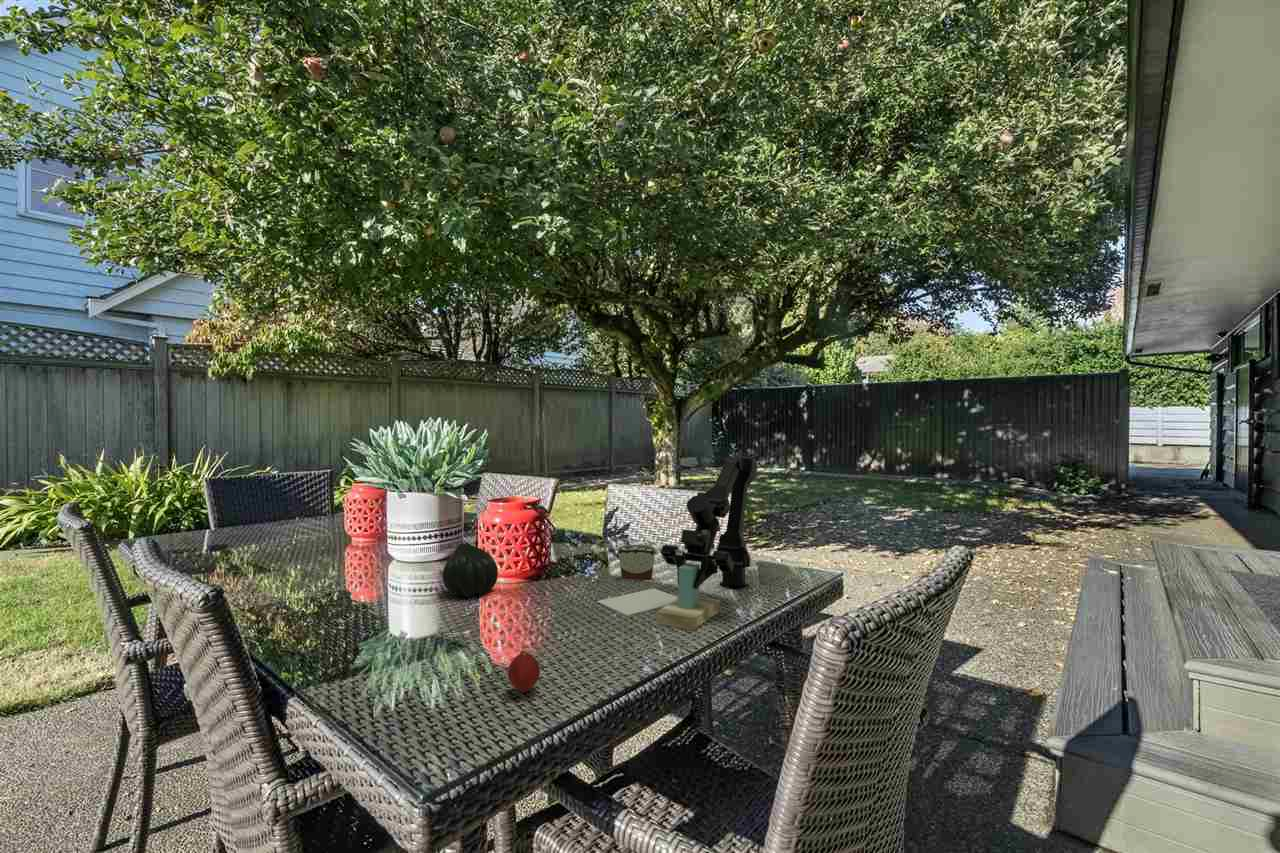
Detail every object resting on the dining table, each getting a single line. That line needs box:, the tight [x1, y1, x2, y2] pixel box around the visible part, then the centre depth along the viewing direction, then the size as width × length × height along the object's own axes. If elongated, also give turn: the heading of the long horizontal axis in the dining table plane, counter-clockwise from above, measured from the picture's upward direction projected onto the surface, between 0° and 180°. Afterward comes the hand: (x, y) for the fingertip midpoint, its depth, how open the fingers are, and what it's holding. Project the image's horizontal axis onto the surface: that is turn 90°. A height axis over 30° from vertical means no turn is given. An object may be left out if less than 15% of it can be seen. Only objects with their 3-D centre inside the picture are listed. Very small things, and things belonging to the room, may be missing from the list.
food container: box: [616, 544, 657, 581], centre depth 190 cm, size 12×6×10 cm, turn 84°
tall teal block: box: [678, 562, 701, 609], centre depth 154 cm, size 5×4×10 cm
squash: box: [442, 542, 499, 598], centre depth 174 cm, size 14×15×15 cm
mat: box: [596, 588, 679, 617], centre depth 166 cm, size 20×14×1 cm
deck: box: [656, 596, 720, 632], centre depth 154 cm, size 16×10×3 cm, turn 151°
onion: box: [507, 649, 541, 693], centre depth 113 cm, size 6×6×8 cm
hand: (686, 587), depth 153 cm, fingers open, 4 cm apart
